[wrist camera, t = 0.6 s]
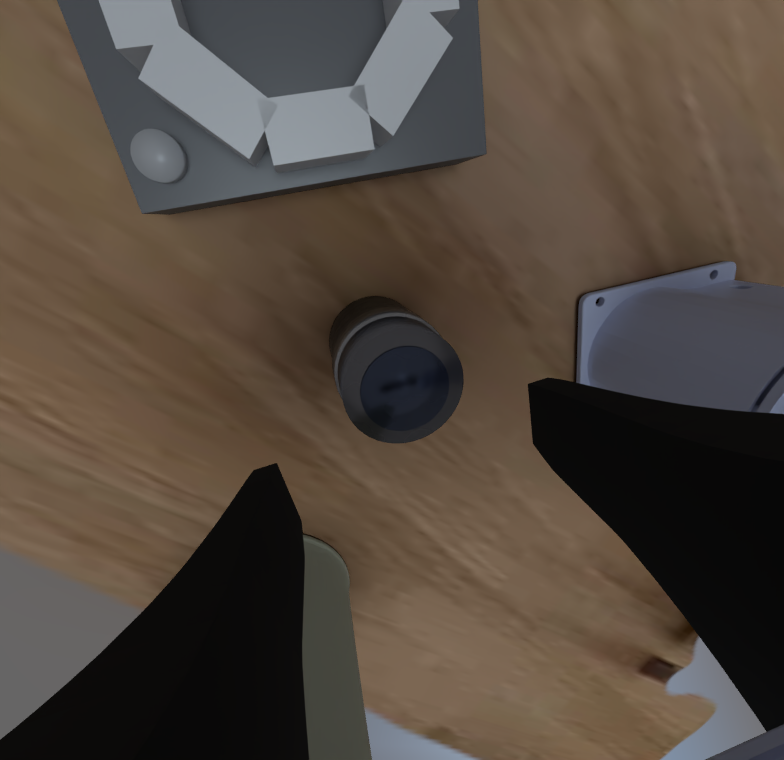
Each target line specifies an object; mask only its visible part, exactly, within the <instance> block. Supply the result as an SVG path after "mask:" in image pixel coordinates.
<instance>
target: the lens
mask: <svg viewBox="0 0 784 760" xmlns="http://www.w3.org/2000/svg"><path fill="white" fill-rule="evenodd" d="M329 347H330V352H331V356H332V368H333V373H334V378H335V382H336V386H337V389H338V392H339V394H340V396H341V398H342V400H343V403H344V406H345V409H346V412H347V414H348V416H349V418H350V420H351V421H352V422H353V424H354V425H355V426H356V427H357V428H358V429H359V430H360V431H361V432H363V433H364V434H366V435H367V436H369V437H371V438H373V439H376V440H378V441H382V442H387V443H407V442H411V441H415V440H418V439H421V438H423V437H425V436H428V435H429V434H431V433H433V432H434V431H436V430H437V429H438V428H440V427H441V426H442V425H443V424H444V423H445V422H446V421H447V420H448V419H449V417H450V416H451V415H452V413H453V412H454V410H455V409H456V407H457V405H458V403H459V400H460V397H461V394H462V390H463V370H462V366H461V363H460V360H459V358H458V356H457V354H456V352H455V351H454V349H453V348H452V347H451V346H450V345H449V344H448V343H447V342H446V341H445V340H444V339H443V338H441V336H440V335H439V333H438V332H437V331H436V330H435V329H434V328H433V327H432V326H431V325H430V324H428V323H427V322H426V321H425V320H423V319H422V318H421V317H420V316H418V315H416V314H415V313H413V312H411V311H408V310H407V309H406V308H405V307H404V306H402V305H401V304H400V303H398V302H396V301H395V300H392V299H390V298H386V297H381V296H370V297H364V298H361V299H358V300H356V301H354V302H352V303H350V304H349V305H348V306H346V307H345V308H344V309H343V310H342V311H341V312H340V313H339V314H338V316H337V317H336V319H335V321H334V322H333V325H332V327H331V331H330V337H329Z"/></svg>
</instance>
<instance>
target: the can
mask: <svg viewBox="0 0 784 760" xmlns="http://www.w3.org/2000/svg"><path fill="white" fill-rule="evenodd" d="M303 540H304V551H305V574H304V607H303V638H302V664H303V680H304V696H305V712H306V725H307V737H308V750H309V760H372V758H371V750H370V744H369V737H368V730H367V723H366V717H365V710H364V703H363V696H362V689H361V681H360V674H359V667H358V660H357V652H356V645H355V638H354V630H353V622H352V615H351V607H350V598H349V587H350V581H349V573H348V570H347V567H346V564H345V562H344V561H343V559H342V558H341V556H340V555H339V554H338V553H337V552H336V551H335V550H334V549H333V548H332V547H330V546H329V545H328V544H326V543H324V542H322V541H321V540H318V539H316V538H314V537H311V536H307V535H303Z"/></svg>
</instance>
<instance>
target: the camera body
mask: <svg viewBox="0 0 784 760" xmlns="http://www.w3.org/2000/svg"><path fill="white" fill-rule="evenodd" d="M57 1H58V4H59V6H60V9H61V11H62V14H63V16H64V19H65V21H66V24H67V26H68V29H69V31H70V34H71V36H72V39H73V41H74V44H75V46H76V49H77V51H78V54H79V56H80V59H81V61H82V64H83V66H84V69H85V72H86V74H87V77H88V79H89V82H90V84H91V87H92V89H93V92H94V94H95V97H96V99H97V102H98V104H99V107H100V109H101V112H102V114H103V117H104V119H105V122H106V124H107V127H108V129H109V132H110V134H111V137H112V139H113V142H114V144H115V147H116V149H117V152H118V154H119V157H120V159H121V162H122V164H123V167H124V169H125V172H126V174H127V177H128V179H129V182H130V184H131V187H132V189H133V192H134V194H135V197H136V199H137V202H138V205H139V207H140V210H141V212H142V214H168V215H170V214H175V213H181V212H187V211H192V210H198V209H204V208H210V207H215V206H221V205H227V204H232V203H238V202H244V201H250V200H255V199H261V198H267V197H272V196H278V195H284V194H290V193H295V192H301V191H307V190H312V189H318V188H324V187H330V186H335V185H341V184H347V183H352V182H358V181H364V180H370V179H375V178H381V177H387V176H392V175H398V174H404V173H410V172H415V171H421V170H427V169H432V168H438V167H444V166H450V165H455V164H459V163H462V162H465V161H467V160H470V159H473V158H476V157H479V156H482V155H485V154H486V137H485V119H484V102H483V85H482V68H481V51H480V34H479V17H478V0H57Z"/></svg>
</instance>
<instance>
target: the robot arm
mask: <svg viewBox="0 0 784 760" xmlns="http://www.w3.org/2000/svg"><path fill="white" fill-rule="evenodd" d="M735 273H736V264H735V263H734V262H731V261H723V262H719V263H715V264H711V265H706V266H702V267H698V268H693V269H689V270H685V271H681V272H676V273H672V274H668V275H663V276H659V277H655V278H651V279H646V280H642V281H638V282H634V283H629V284H625V285H621V286H616V287H612V288H608V289H604V290H599V291H595V292H591V293H587V294H585V295H583V296H582V297H581V299H580V301H579V312H578V344H577V377H576V383H575V382H570V381H566V380H560V379H554V378H545V379H542V380H539V381H536V382H533V383H529V384H528V391H529V403H530V414H531V426H532V438H533V444H534V446H535V447H536V448H537V450H538V451H539V452H540V454H541V455H542V457H543V458H544V459H545V460H546V462H547V463H548V464H549V466H550V467H551V468H552V469H553V471H554V472H555V473H556V474H557V475H558V476H559V477H560V478H561V479H562V480H563V481H564V482H565V483H566V484H567V485H568V486H569V487H570V488H571V489H572V490H573V491H574V492H575V493H576V494H577V495H578V496H579V497H580V498H581V499H582V500H583V501H584V502H585V503H586V504H587V505H588V506H589V507H590V508H591V509H592V510H593V511H594V512H595V513H596V514H597V515H598V516H599V517H600V518H601V519H602V520H603V521H604V522H605V523H606V524H607V525H608V526H609V527H610V528H611V529H612V530H613V531H614V532H615V533H616V534H617V535H618V536H619V537H620V538H621V539H622V540H623V541H624V542H625V543H626V545H627V546H628V547H629V548H630V549H631V551H632V552H633V553H634V554H635V555H636V557H637V558H638V559H639V560H640V561H641V563H642V564H643V565H644V566H645V567H646V569H647V570H648V571H649V572H650V573H651V575H652V576H653V577H654V578H655V580H656V581H657V582H658V583H659V585H660V586H661V587H662V589H663V590H664V591H665V592H666V594H667V595H668V596H669V597H670V599H671V600H672V601H673V603H674V604H675V605H676V606H677V608H678V609H679V610H680V611H681V613H682V614H683V615H684V617H685V618H686V619H687V621H688V622H689V623H690V625H691V626H692V627H693V629H694V630H695V631H696V633H697V634H698V635H699V637H700V638H701V639H702V641H703V642H704V643H705V645H706V646H707V647H708V649H709V650H710V652H711V653H712V654H713V655H714V657H715V658H716V659H717V661H718V662H719V664H720V665H721V667H722V668H723V669H724V670H725V672H726V674H727V675H728V676H729V678H730V679H731V680H732V682H733V683H734V685H735V686H736V688H737V689H738V691H739V692H740V694H741V695H742V696H743V698H744V699H745V701H746V702H747V704H748V705H749V706H750V708H751V709H752V711H753V712H754V714H756V716H757V718H758V719H759V721H760V722H761V724H762V725H763V727H764V728H765V730H766V731H767V732H766V733H763V734H761V735H759V736H757V737H754V738H752V739H750V740H748V741H746V742H743V743H741V744H739V745H737V746H735V747H732V748H730V749H728V750H726V751H723V752H721V753H720V754H717V755H715V756H712V757H710V758H708V759H706V760H784V287H781V286H774V285H766V284H759V283H752V282H745V281H738V280H734V278H735ZM710 274H711V275H710ZM598 298H599V302H598V304H596V300H597V299H598ZM304 574H305V551H304V540H303V531H302V522H301V519H300V516H299V514H298V512H297V509H296V507H295V505H294V502H293V500H292V498H291V495H290V493H289V491H288V488H287V486H286V484H285V481H284V479H283V477H282V474H281V472H280V470H279V467H278V465H277V463H275V464H272V465H269V466H266V467H262V468H259V469H256V470H254V471H253V472H252V473H251V474H250V476H249V477H248V479H247V480H246V481H245V483H244V484H243V486H242V487H241V489H240V490H239V492H238V493H237V495H236V496H235V498H234V499H233V501H232V502H231V503H230V505H229V506H228V508H227V509H226V511H225V512H224V513H223V515H222V516H221V518H220V519H219V521H218V522H217V523H216V525H215V526H214V528H213V529H212V530H211V531H210V533H209V534H208V535H207V537H206V538H205V539H204V541H203V542H202V543H201V544H200V546H199V547H198V548H197V550H196V551H195V552H194V554H193V555H192V556H191V557H190V559H189V560H188V561H187V563H186V564H185V565H184V566H183V567H182V569H181V570H180V571H179V572H178V573H177V574H176V576H175V577H174V578H173V579H172V580H171V581H170V583H169V584H168V585H167V586H166V587H165V588H164V589H163V590H162V591H161V592H160V594H159V595H158V596H157V597H156V598H155V599H154V600H153V601H152V602H151V603H150V604H149V606H148V607H147V608H146V609H145V610H144V611H143V612H142V613H141V614H140V615H139V616H138V617H137V618H136V619H135V620H134V621H133V622H132V623H131V624H130V625H129V626H128V627H127V628H126V629H125V630H124V631H123V632H122V633H120V634H119V635H118V637H116V639H114V641H112V642H111V643H110V644H109V645H108V646H107V647H106V648H105V649H104V650H103V651H102V652H101V653H100V654H99V655H98V656H97V657H96V658H95V659H94V660H93V661H92V662H90V663H89V664H88V665H87V666H86V667H85V668H84V669H83V670H82V671H80V672H79V673H78V674H77V675H76V676H75V677H74V678H73V679H72V680H71V681H69V682H68V683H67V684H66V685H65V686H64V687H63V688H61V689H60V690H59V691H58V692H57V693H56V694H54V695H53V696H52V697H51V698H50V699H49V700H48V701H47V702H45V703H44V704H43V705H42V706H41V707H39V708H38V709H37V710H36V711H35V712H34V713H32V714H31V715H30V716H29V717H28V718H26V719H25V720H24V721H23V722H22V723H20V724H19V725H18V726H17V727H16V728H14V729H13V730H12V731H11V732H9V733H8V734H7V735H6V736H4V737H3V738H2V739H1V740H0V760H309V750H308V737H307V725H306V712H305V696H304V680H303V664H302V638H303V607H304Z"/></svg>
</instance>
